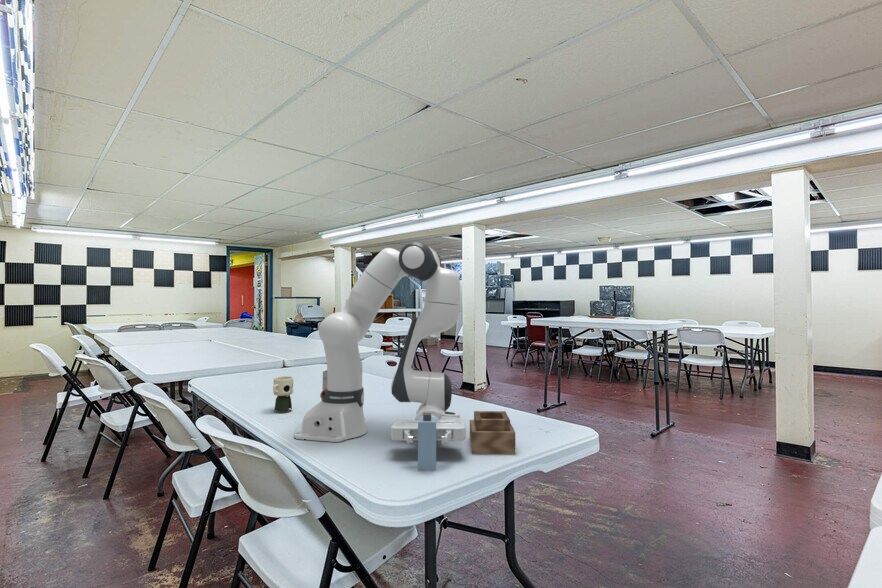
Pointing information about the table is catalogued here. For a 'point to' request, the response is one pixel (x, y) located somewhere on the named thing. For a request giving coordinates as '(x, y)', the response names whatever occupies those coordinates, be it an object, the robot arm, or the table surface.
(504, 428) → the socket block
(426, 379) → the robot arm
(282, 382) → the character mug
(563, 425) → the table surface
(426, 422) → the plug block
